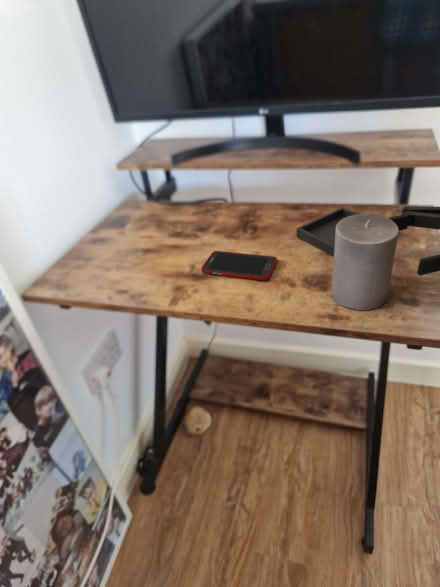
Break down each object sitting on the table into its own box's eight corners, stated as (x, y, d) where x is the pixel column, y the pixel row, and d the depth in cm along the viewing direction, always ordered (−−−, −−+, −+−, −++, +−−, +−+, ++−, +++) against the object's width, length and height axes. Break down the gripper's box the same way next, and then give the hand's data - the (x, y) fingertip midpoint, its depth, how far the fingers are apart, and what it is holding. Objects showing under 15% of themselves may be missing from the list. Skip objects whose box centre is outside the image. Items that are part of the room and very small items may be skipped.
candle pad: (392, 237, 87) (394, 227, 85) (344, 262, 81) (345, 253, 80) (342, 215, 97) (342, 206, 96) (296, 237, 92) (296, 228, 90)
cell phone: (268, 282, 79) (268, 278, 78) (200, 273, 84) (199, 269, 84) (278, 260, 84) (278, 256, 84) (213, 254, 90) (213, 250, 89)
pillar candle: (368, 273, 78) (377, 201, 68) (399, 303, 70) (414, 226, 61) (321, 286, 76) (324, 214, 67) (348, 317, 69) (355, 241, 59)
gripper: (561, 276, 63) (438, 307, 61) (453, 211, 83) (357, 232, 81) (581, 234, 59) (449, 266, 57) (462, 175, 78) (361, 197, 76)
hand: (395, 246), depth 69 cm, fingers open, 13 cm apart
